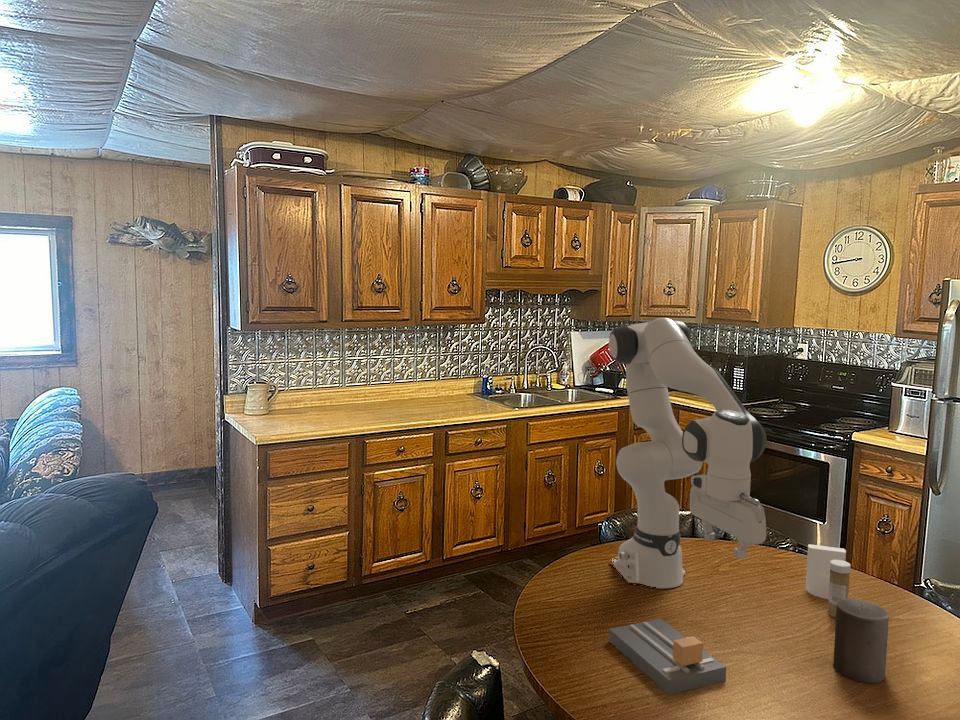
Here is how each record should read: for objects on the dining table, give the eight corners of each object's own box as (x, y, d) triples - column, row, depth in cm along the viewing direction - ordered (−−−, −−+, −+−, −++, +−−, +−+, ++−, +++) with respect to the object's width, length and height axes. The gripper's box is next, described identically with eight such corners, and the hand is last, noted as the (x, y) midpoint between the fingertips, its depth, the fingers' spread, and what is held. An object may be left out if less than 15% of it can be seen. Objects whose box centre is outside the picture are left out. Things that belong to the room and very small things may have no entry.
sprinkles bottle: (851, 616, 166) (854, 563, 164) (841, 621, 163) (844, 567, 162) (833, 608, 169) (836, 557, 168) (823, 613, 167) (826, 561, 166)
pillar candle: (826, 671, 141) (830, 602, 140) (840, 653, 148) (844, 588, 147) (879, 689, 135) (883, 618, 133) (890, 669, 142) (895, 601, 140)
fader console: (608, 641, 153) (609, 626, 153) (660, 630, 158) (660, 616, 158) (669, 695, 133) (669, 677, 132) (725, 680, 138) (726, 663, 137)
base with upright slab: (806, 595, 177) (809, 551, 176) (804, 582, 185) (806, 540, 184) (845, 601, 174) (848, 556, 172) (841, 587, 182) (843, 544, 181)
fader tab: (672, 662, 138) (673, 640, 138) (692, 657, 140) (693, 636, 140) (682, 670, 136) (682, 647, 135) (702, 665, 137) (703, 642, 137)
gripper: (776, 500, 135) (771, 566, 137) (708, 472, 154) (705, 530, 156) (751, 504, 133) (746, 570, 135) (686, 475, 152) (682, 533, 154)
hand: (724, 548), depth 145 cm, fingers open, 8 cm apart
